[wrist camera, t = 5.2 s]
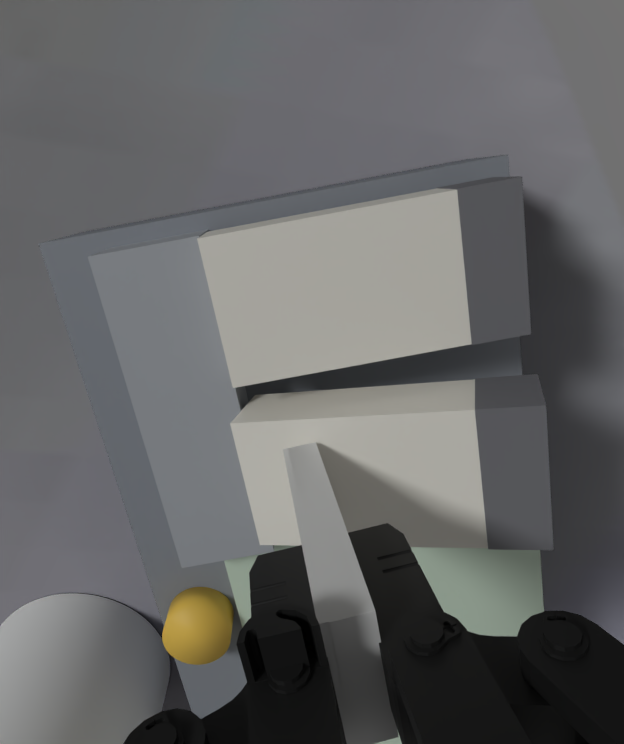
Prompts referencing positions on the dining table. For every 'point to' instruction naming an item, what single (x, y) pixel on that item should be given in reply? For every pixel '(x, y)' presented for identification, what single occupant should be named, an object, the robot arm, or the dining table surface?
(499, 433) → the light grey rectangular block
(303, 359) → the panel
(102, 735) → the cup
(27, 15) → the dining table surface
